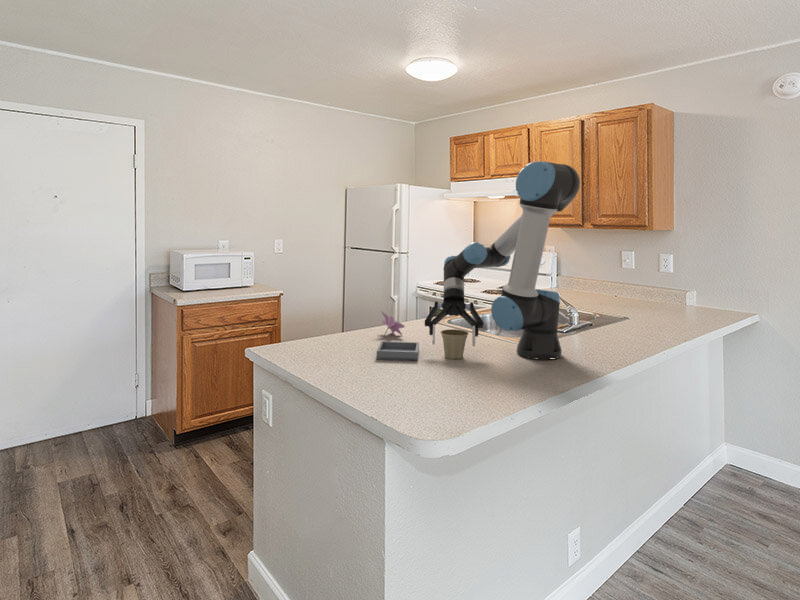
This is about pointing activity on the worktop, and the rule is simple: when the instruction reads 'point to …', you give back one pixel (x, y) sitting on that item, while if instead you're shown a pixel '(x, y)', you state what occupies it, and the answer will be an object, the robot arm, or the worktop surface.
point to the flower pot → (454, 343)
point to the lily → (392, 324)
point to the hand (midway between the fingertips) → (453, 343)
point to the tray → (398, 351)
